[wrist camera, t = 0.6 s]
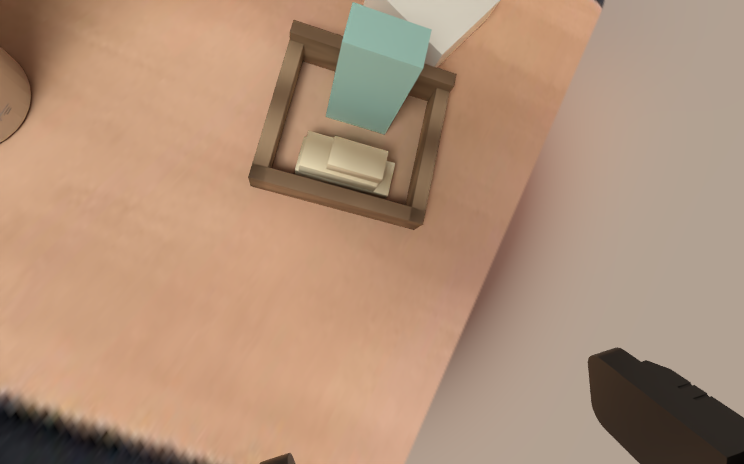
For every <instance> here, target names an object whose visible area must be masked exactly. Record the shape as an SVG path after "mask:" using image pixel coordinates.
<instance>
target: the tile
mask: <svg viewBox="0 0 744 464" xmlns="http://www.w3.org/2000/svg"><path fill="white" fill-rule="evenodd" d="M499 2H500V0H364V4H363V6H366V7H368V8H371V9H374V10H377V11H380V12H383V13H386V14H388V15H391V16H394V17H397V18H400V19H403V20H406V21H409V22H411V23H414V24H417V25H420V26H423V27H426V28H429V29H431V30H432V31H431V35H430V40H429V44H428V49H427V54H426V58H425V63H424V64H427V65H430V66H433V67H436V68H437V67H438V66H439V65H440V64H441V63H442V62H443V61H444V60H445V59H446V58H447V57H448V56H449V55H450V54H451V53H452V52H453V51H454V50H455V49H457V48H458V47H459V46H460V45H461V44H462V43H463V42H464V41H465V40H466V39H467V38H468V37H469V36H470V35H471V34H472V33H473V32H474V31H475V30H476V29H477V28H478V27H480V26H481V25H482V24H483V23H484V22H485V21H486V20H487V19H488V17H489V16H490V14H491V13H492V12H493V10H494V9H495V7H496V6H497V4H498V3H499Z"/></svg>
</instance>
